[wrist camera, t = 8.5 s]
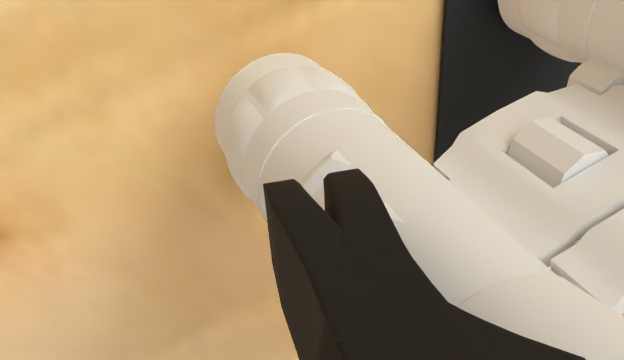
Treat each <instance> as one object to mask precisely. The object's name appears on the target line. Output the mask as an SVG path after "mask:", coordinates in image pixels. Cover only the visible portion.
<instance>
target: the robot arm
mask: <svg viewBox="0 0 624 360" xmlns="http://www.w3.org/2000/svg"><path fill="white" fill-rule="evenodd" d="M323 183H324V202H325V211H324V210H323V209H322V207H321V206H320V205H319V204H318V203H317V202H316V201H315V200H314V199H313V198H312V197H311V196H310V195H309V194H308V192H307V191H306V190H305V189H304V188H303V187H302V185H301V184H300V183H299V182H297V181H296V180H295V179H289V180H283V181H277V182H270V183H264V184H263V189H264V197H265V206H266V214H267V222H268V231H269V239H270V247H271V256H272V264H273V269H274V273H275V278H276V283H277V288H278V292H279V297H280V301H281V306H282V309H283V312H284V315H285V318H286V321H287V324H288V327H289V330H290V333H291V336H292V339H293V342H294V345H295V348H296V351H297V354H298V357H299V360H586V359H585V358H584V357H581V356H578V355H575V354H572V353H569V352H567V351H564V350H561V349H558V348H555V347H552V346H549V345H546V344H544V343H541V342H538V341H535V340H532V339H529V338H526V337H524V336H521V335H518V334H516V333H514V332H511V331H509V330H506V329H504V328H502V327H499V326H497V325H495V324H492V323H490V322H488V321H485V320H483V319H481V318H479V317H477V316H475V315H472V314H470V313H468V312H466V311H464V310H462V309H460V308H458V307H456V306H455V305H453V304H451V303H449V302H448V301H447V300H446V299H445V298H444V296H443V295H442V294H441V293H440V292H439V291H438V289H437V288H436V287H435V286H434V285H433V284H432V282H431V281H430V280H429V278H428V277H427V276H426V274H425V273H424V272H423V270H422V269H421V268H420V267H419V265H418V264H417V263H416V261H415V260H414V259H413V257H412V256H411V254H410V253H409V251H408V249H407V248H406V246H405V244H404V243H403V241H402V239H401V237H400V235H399V233H398V231H397V229H396V227H395V225H394V223H393V221H392V219H391V217H390V215H389V213H388V211H387V209H386V207H385V205H384V203H383V201H382V199H381V197H380V195H379V193H378V191H377V189H376V188H375V186H374V184H373V183H372V182H371V181H370V179H369V178H368V177H367V176H366V175H365V174H364V173H363V172H362V171H361V170H360V169H358V168H356V169H350V170H344V171H338V172H332V173H328V174H327V175H326V176H325V178H324V179H323Z"/></svg>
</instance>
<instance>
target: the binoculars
mask: <svg viewBox="0 0 624 360" xmlns="http://www.w3.org/2000/svg"><path fill="white" fill-rule="evenodd" d="M498 6H499V11H500V14H501V16H502V19H503V21H504V22H505V23H506V25H507V26H508V27H509V28H510V29H512V30H513V31H515V32H516V33H519V34H521V35H523V36H525V37H527V38H529V39H531V40H532V41H533V43H534V44H535V45H537V46H538V47H539V48H541V49H542V50H544V51H545V52H547V53H549V54H550V55H552V56H555V57H557V58H560V59H562V60H566V61H569V62H580V63H582V64H581V65H580V66H578V67H577V68H576V69H575V70H574V72H573V73H572V74H571V75H570V76H569V80H568V83H567V87H566V88H562V89H559V90H556V91H552V92H549V93H546V92H540V91H535V92H533V93H531V94H529V95H527V96H525V97H523V98H521V99H519V100H517V101H515V102H513V103H511V104H509V105H507V106H505V107H503V108H501V109H499V110H497V111H496V112H494V113H492V114H491V115H489V116H487V117H486V118H484V119H482V120H481V121H479V122H477V123H476V124H474V125H472V126H471V127H469V128H467V129H466V130H464V131H462V132H461V133H460V134H459V135H458V137H457V138H456V140H455V142H454V143H453V145H452V146H451V147H450V148H449V149H448V150H447V151H446V152H445V153H444V154H443V155H442V156H441V157H440V158H439V159H438V160H437V161H435V162H434V163H433V166H434V167H433V166H432V165H430V164H429V163H428V162H427V161H426V160H425V159H424V158H422V157H421V156H420V155H419V154H418V153H417V152H416V151H414V150H413V149H412V148H411V147H410V146H409V145H408V144H406V143H405V142H404V141H403V140H402V139H401V138H400V137H398V136H397V135H396V134H395V133H394V132H393V131H392V130H390V129H389V127H388V126H387V125H386V123H385V122H384V121H383V120H382V119H381V118H379V117H378V116H377V115H376V114H375V113H374V112H373V111H371V110H370V107H369V105H368V104H367V103H365V102H364V101H363V100H362V99H361V98H360V97H358V96H357V94H356V93H355V91H354V89H353V88H352V87H351V86H350V85H348V84H347V83H346V82H345V81H344V80H343V79H341V78H340V77H339V76H338V75H336V74H334V73H332V72H330V71H328V70H326V69H323V68H322V67H321V66H319V65H318V64H317V63H316V62H315V61H313V60H311V59H309V58H307V57H305V56H302V55H298V54H293V53H277V54H271V55H267V56H264V57H262V58H259V59H256V60H254V61H253V62H251V63H249V64H248V65H246V66H244V67H243V68H242V69H241V70H240V71H239V72H237V73H236V74H235V75H234V76H233V77H232V78H231V80H230V81H229V82H228V84H227V85H226V86H225V88H224V90H223V91H222V93H221V95H220V97H219V100H218V103H217V106H216V110H215V118H214V126H215V134H216V137H217V140H218V143H219V145H220V147H221V149H222V150H223V152H224V153H225V159H226V162H227V165H228V168H229V171H230V173H231V175H232V177H233V179H234V180H235V182H236V183H237V184H238V186H239V187H240V189H241V190H242V192H243V193H244V194H245V196H246V197H247V198H248V199H249V200H251V201H252V202H254V203H255V204H256V205H257V207H258V209H259V210H260V212H261V214H262V215H263V217H264V218H265V220H266V221H267V214H266V206H265V197H264V189H263V184H264V183H270V182H277V181H283V180H289V179H295V180H296V181H297V182H299V183H300V184H301V185H302V187H303V188H304V189H305V190H306V191H307V192H308V194H309V195H310V196H311V197H312V198H313V199H314V200H315V201H316V202H317V203H318V204H319V205H320V206H321V207H322V209H323V210H324V211H325V202H324V183H323V179H324V178H325V176H326V175H327V174H328V173H332V172H338V171H344V170H350V169H356V168H358V169H360V170H361V171H362V172H363V173H364V174H365V175H366V176H367V177H368V178H369V179H370V181H371V182H372V183H373V184H374V186H375V188H376V189H377V191H378V193H379V195H380V197H381V199H382V201H383V203H384V205H385V207H386V209H387V211H388V213H389V215H390V217H391V219H392V221H393V223H394V225H395V227H396V229H397V231H398V233H399V235H400V237H401V239H402V241H403V243H404V244H405V246H406V248H407V249H408V251H409V253H410V254H411V256H412V257H413V259H414V260H415V261H416V263H417V264H418V265H419V267H420V268H421V269H422V270H423V272H424V273H425V274H426V276H427V277H428V278H429V280H430V281H431V282H432V284H433V285H434V286H435V287H436V288H437V289H438V291H439V292H440V293H441V294H442V295H443V296H444V298H445V299H446V300H447V301H448V302H449V303H451V304H453V305H455V306H456V307H458V308H460V309H462V310H464V311H466V312H468V313H470V314H472V315H475V316H477V317H479V318H481V319H483V320H485V321H488V322H490V323H492V324H495V325H497V326H499V327H502V328H504V329H506V330H509V331H511V332H514V333H516V334H518V335H521V336H524V337H526V338H529V339H532V340H535V341H538V342H541V343H544V344H546V345H549V346H552V347H555V348H558V349H561V350H564V351H567V352H569V353H572V354H575V355H578V356H581V357H584V358H585V359H586V360H624V317H623V316H622V313H623V312H624V0H498ZM267 223H268V222H267ZM549 266H551V270H550V269H549V268H548V267H549Z"/></svg>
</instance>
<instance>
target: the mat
mask: <svg viewBox="0 0 624 360" xmlns="http://www.w3.org/2000/svg"><path fill="white" fill-rule="evenodd" d="M581 64H582V63H580V62H569V61H566V60H562V59H560V58H557V57H555V56H552V55H550V54H549V53H547V52H545V51H544V50H542V49H541V48H539V47H538V46H537V45H535V44H534V43H533V41H532V40H531V39H529V38H527V37H525V36H523V35H521V34H519V33H516V32H515V31H513V30H512V29H510V28H509V27H508V26H507V25H506V23H505V22H504V21H503V19H502V16H501V14H500V11H499V6H498V0H445V4H444V19H443V35H442V50H441V65H440V81H439V96H438V111H437V127H436V142H435V157H434V162H435V161H437V160H438V159H439V158H440V157H441V156H442V155H443V154H444V153H445V152H446V151H447V150H448V149H449V148H450V147H451V146H452V145H453V143H454V142H455V140H456V138H457V137H458V135H459V134H460V133H461V132H462V131H464V130H466V129H467V128H469V127H471V126H472V125H474V124H476V123H477V122H479V121H481V120H482V119H484V118H486V117H487V116H489V115H491V114H492V113H494V112H496V111H497V110H499V109H501V108H503V107H505V106H507V105H509V104H511V103H513V102H515V101H517V100H519V99H521V98H523V97H525V96H527V95H529V94H531V93H533V92H535V91H540V92H546V93H549V92H552V91H556V90H559V89H562V88H566V87H567V83H568V80H569V76H570V75H571V74H572V73H573V72H574V70H575V69H576V68H577V67H578V66H580V65H581Z"/></svg>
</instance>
